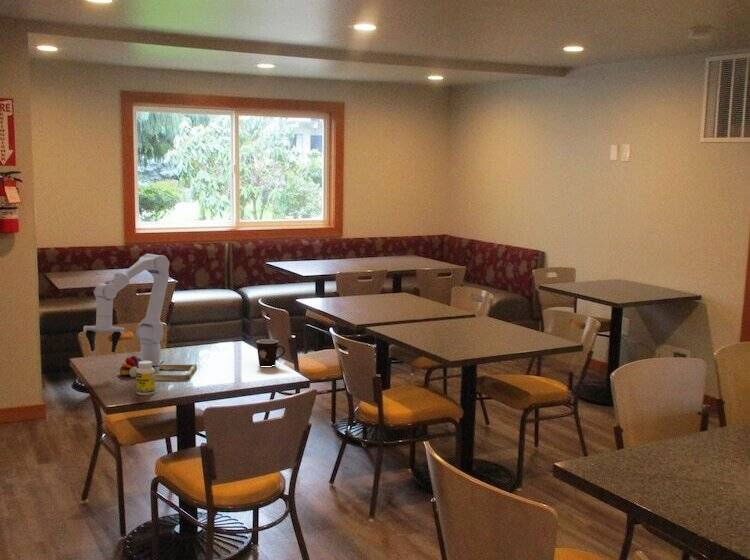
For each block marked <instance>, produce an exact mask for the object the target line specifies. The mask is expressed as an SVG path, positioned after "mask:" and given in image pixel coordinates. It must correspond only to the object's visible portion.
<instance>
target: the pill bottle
mask: <svg viewBox="0 0 750 560" xmlns="http://www.w3.org/2000/svg"><path fill="white" fill-rule="evenodd" d="M138 366H139V368H138V369H137V370H136V377H135V379H136V381H135V382H136V384H135V385H136V390H135V391H136V394H137V395H139V396H150V395H153V394H155V392H156V380H155V374H156V371H155V368H154V367H153V366H152V361H140V362H138Z"/></svg>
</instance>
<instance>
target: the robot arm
mask: <svg viewBox="0 0 750 560" xmlns="http://www.w3.org/2000/svg"><path fill="white" fill-rule="evenodd" d="M170 266H171V265H170V261H169V259H168V257H167V256H166V255H164V254H160V255H159V254H152V253H145V254H144V255H142V256H140V257H139V258H138V260H137V261H136V262H134V263H133V264H132V265H131V266H130V267H128V269H126V270H125V271H124V272H122V271H121V272H120V271H118V272H115V273H114V274H113V276H112V277H110V278H109V279H105V281H104V283H103V282H102V283H98V284H97V285H96V286H95V288H94V290H93V295H94V297H95V301H96V312H95V313H96V317H95V318H96V319H95V325H84V326H83V329H82V330H83V333H84V332H85V333H84V334H85V336H86V339H87V340H88V343H89V347H90V352H94V351H95V349H96V347H95V346H96V334H97V333H111V343H112V344H111V353H114V352H116V349H117V345H118V343H119V340H120V338H121V336H122V334H125V327H120V326H113V311H114V307H113V305H114V299H115V298H116V297H117V295H118V292H120V291H121V290H123V288H125V287H126V286H128V285H129V284H130V280H131V279H133V278H134V277H136V276H138V275H139V274H141V273H142V272H145V271H147V273H149V274H150V275H151V276H152V278H153V282H152V283H153V284H152V287H151V291H150V296H149V301H148V305H147V310H146V314H145V317H144V318H143V319H142V320H140V323H139V326H137V328H136V337H137V338H138V339H139V342H140V359H141V360H142V361H152V367H155V366H156V367H159V364H163V362H164V359H162V357H161V355H162V353H161V350H162V349H161V347H162V346H161V344H160V343H162V342H161V341H162V339H163V337H164V324H163V322H162V321H161V316H162V311H163V305H164V302H165V297H166V291H167V288H168V282H169V279H170V275H169V274H170V273H169V272H170V271H169V269H170Z"/></svg>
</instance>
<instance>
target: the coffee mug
mask: <svg viewBox="0 0 750 560" xmlns="http://www.w3.org/2000/svg"><path fill="white" fill-rule="evenodd" d="M256 347H257V357H258V364H259V365H260V366H272V365H275V366H276V365H277V364H276V363H277V360H279V358H281V357H283V356H284V355H285V353H286V349H285V347H284V346H282V345H279V340H277V339H270V338H266V339H265V338H264V339H263V338H262V339H258V340H256ZM279 348H281V349H282V350H283V353H282V354H280V355H279V356H278V357H277V354H278V349H279ZM260 366H259V367H260Z"/></svg>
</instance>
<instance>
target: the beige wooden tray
mask: <svg viewBox="0 0 750 560" xmlns="http://www.w3.org/2000/svg"><path fill="white" fill-rule="evenodd" d="M197 365H198V364H197V363H187V364H186V363H161V364H159V366H158V369H159V371H161V370H160V369H168V370H167V371H170V370H169V369H174V370H173V371H187V373H185V374H182V373H181V374H178V373H175V374H174V373H173V374H172V373H171V374H169V373H167V374H166V373H165V374H164V373H163V374H160V373H157V374H156V373H155V381H182V380H189V381H190V379H191V378H192V377H193V375H194V374H195V372H196V371H197ZM191 376H192V377H191Z"/></svg>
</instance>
